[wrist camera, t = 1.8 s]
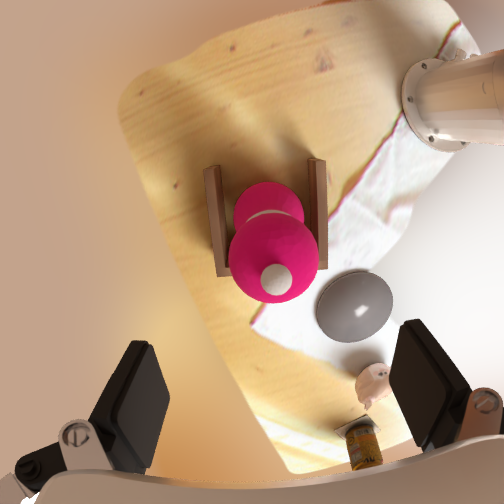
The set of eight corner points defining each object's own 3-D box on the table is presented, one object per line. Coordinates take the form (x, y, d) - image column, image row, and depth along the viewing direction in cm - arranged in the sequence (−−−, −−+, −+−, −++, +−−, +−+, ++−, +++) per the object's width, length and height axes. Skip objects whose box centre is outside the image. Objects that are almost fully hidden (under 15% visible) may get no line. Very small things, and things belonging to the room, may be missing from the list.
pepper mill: (224, 201, 35) (183, 271, 16) (275, 165, 33) (297, 192, 14) (260, 249, 37) (260, 358, 18) (310, 215, 35) (363, 298, 16)
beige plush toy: (366, 352, 42) (382, 387, 35) (396, 359, 43) (413, 392, 35) (345, 381, 44) (356, 417, 37) (375, 387, 45) (388, 420, 38)
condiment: (350, 444, 52) (360, 489, 40) (333, 429, 49) (343, 479, 38) (380, 429, 50) (395, 474, 39) (366, 413, 48) (382, 463, 36)
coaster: (344, 258, 37) (345, 260, 36) (405, 289, 38) (406, 291, 38) (302, 325, 40) (302, 328, 40) (363, 348, 42) (364, 350, 41)
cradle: (316, 158, 33) (325, 160, 28) (319, 252, 37) (327, 269, 32) (211, 166, 33) (203, 169, 29) (222, 259, 37) (217, 276, 33)
